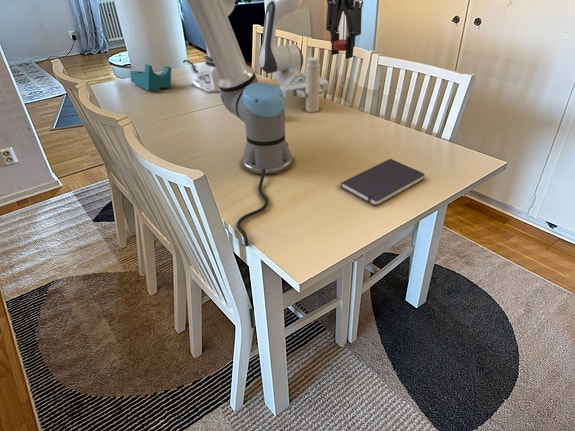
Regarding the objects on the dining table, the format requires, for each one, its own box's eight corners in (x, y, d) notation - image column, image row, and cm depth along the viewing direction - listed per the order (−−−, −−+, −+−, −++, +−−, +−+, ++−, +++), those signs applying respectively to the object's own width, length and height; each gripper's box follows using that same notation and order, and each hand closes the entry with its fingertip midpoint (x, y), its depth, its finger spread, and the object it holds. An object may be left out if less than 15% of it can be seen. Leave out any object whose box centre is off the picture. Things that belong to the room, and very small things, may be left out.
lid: (346, 51, 131) (347, 44, 129) (330, 49, 133) (330, 42, 132) (354, 47, 135) (354, 40, 134) (337, 45, 138) (338, 38, 136)
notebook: (389, 163, 124) (340, 187, 113) (390, 158, 123) (341, 182, 112) (424, 178, 116) (375, 206, 105) (425, 174, 115) (376, 201, 104)
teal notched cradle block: (170, 90, 188) (171, 67, 184) (148, 90, 181) (148, 66, 177) (152, 82, 199) (152, 60, 195) (130, 81, 192) (130, 58, 187)
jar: (302, 108, 163) (302, 58, 151) (314, 106, 165) (315, 56, 153) (310, 113, 159) (310, 61, 147) (321, 110, 161) (323, 59, 149)
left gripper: (274, 80, 162) (289, 90, 152) (318, 72, 169) (335, 81, 159) (274, 95, 165) (290, 106, 155) (317, 87, 173) (335, 97, 163)
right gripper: (378, -24, 118) (370, 59, 131) (332, -27, 130) (330, 48, 143) (360, -21, 114) (355, 63, 128) (315, -25, 126) (314, 52, 140)
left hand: (313, 93), depth 157 cm, fingers closed on jar, 5 cm apart
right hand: (341, 55), depth 135 cm, fingers closed on lid, 6 cm apart
